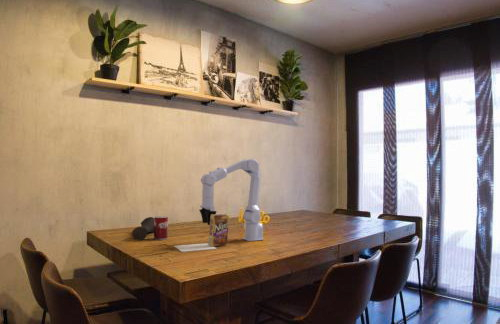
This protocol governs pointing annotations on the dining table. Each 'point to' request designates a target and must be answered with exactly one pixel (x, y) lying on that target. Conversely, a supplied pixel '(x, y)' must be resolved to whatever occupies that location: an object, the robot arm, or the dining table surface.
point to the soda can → (160, 227)
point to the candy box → (218, 230)
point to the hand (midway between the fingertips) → (207, 223)
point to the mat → (194, 247)
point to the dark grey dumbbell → (143, 229)
